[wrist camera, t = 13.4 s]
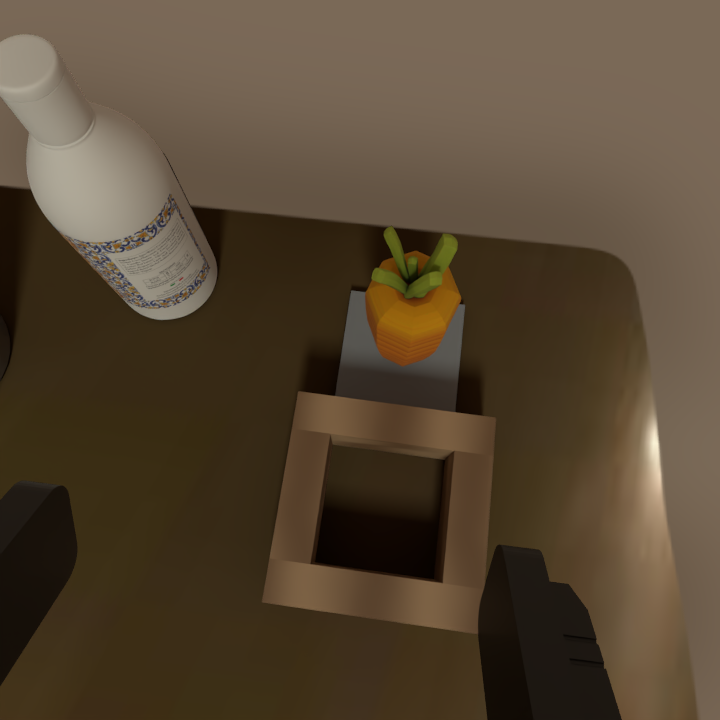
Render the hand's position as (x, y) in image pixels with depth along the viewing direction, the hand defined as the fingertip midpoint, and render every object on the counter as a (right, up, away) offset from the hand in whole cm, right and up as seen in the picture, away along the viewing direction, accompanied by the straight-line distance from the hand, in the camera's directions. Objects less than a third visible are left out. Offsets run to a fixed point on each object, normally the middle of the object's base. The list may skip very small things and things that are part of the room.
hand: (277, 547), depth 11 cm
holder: (+3, -6, +27) cm, 28 cm away
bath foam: (-12, +9, +32) cm, 35 cm away
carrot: (+4, +4, +29) cm, 30 cm away
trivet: (+4, +4, +30) cm, 30 cm away
